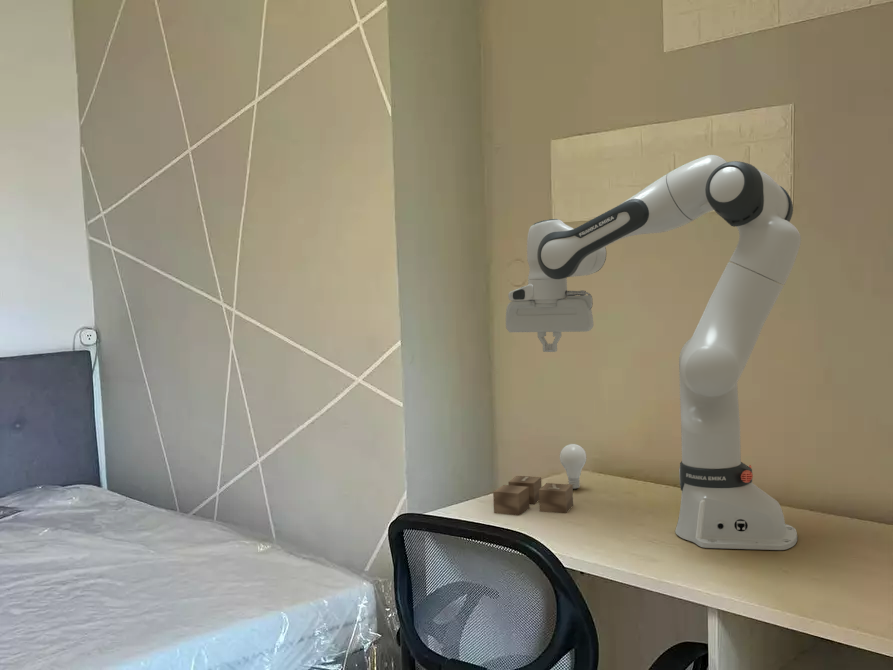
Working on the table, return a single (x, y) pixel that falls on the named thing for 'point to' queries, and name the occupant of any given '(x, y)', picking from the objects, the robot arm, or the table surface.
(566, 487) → the numbered block 7
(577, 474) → the lightbulb
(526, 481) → the numbered block 1
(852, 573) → the table surface
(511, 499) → the plain block
